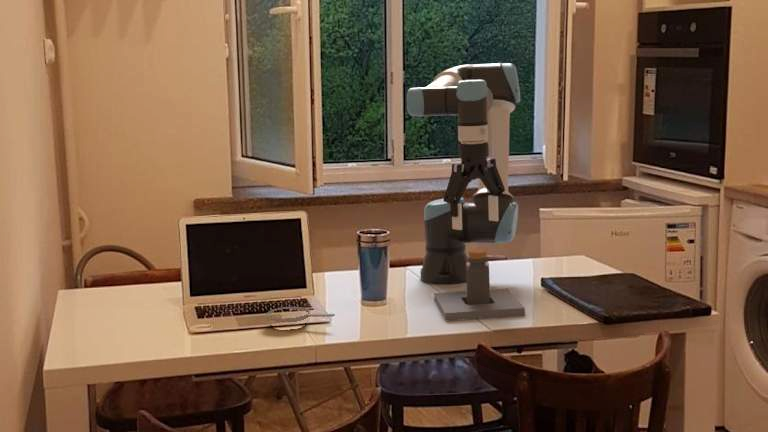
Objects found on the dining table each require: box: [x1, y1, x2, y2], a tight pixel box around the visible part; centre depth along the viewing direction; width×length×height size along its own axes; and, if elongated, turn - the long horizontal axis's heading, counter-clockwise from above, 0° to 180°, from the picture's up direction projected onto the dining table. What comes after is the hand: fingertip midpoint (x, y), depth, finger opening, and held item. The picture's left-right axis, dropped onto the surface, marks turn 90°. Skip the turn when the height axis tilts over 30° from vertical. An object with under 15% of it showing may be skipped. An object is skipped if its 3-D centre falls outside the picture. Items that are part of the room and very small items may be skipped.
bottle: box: [466, 248, 491, 305], centre depth 256 cm, size 6×6×15 cm
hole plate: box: [433, 288, 526, 321], centre depth 257 cm, size 20×20×2 cm
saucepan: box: [266, 306, 336, 323], centre depth 247 cm, size 11×18×4 cm, turn 68°
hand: (475, 225), depth 253 cm, fingers open, 13 cm apart
